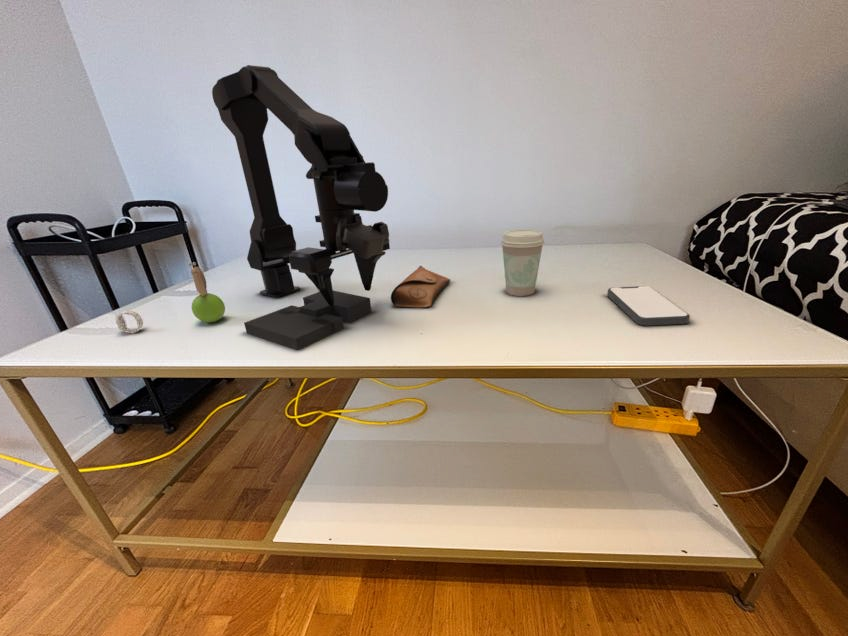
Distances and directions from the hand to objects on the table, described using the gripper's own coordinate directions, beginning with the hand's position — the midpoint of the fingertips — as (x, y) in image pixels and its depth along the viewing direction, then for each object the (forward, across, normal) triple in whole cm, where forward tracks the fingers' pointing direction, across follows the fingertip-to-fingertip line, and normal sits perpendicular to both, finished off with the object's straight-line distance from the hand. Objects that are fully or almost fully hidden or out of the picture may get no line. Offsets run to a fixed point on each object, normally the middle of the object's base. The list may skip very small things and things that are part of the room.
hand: (350, 297), depth 76 cm
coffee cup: (+4, +27, -22) cm, 35 cm away
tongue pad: (+4, -2, +4) cm, 6 cm away
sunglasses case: (+4, +17, -4) cm, 18 cm away
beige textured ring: (+4, -25, +31) cm, 40 cm away
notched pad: (+4, -9, +4) cm, 11 cm away
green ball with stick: (+4, -15, +22) cm, 27 cm away
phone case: (+4, +28, -46) cm, 54 cm away
